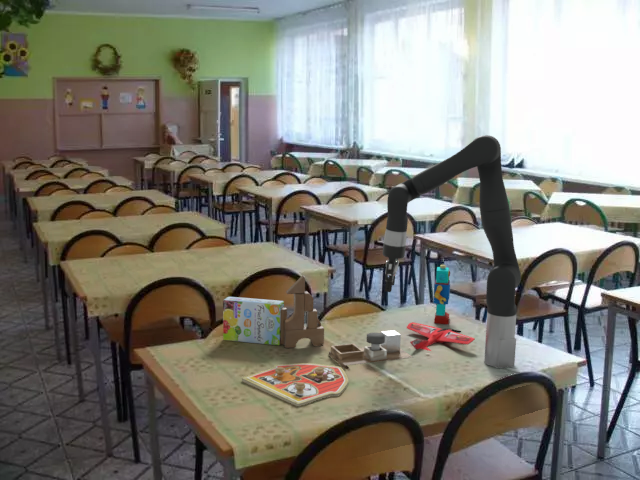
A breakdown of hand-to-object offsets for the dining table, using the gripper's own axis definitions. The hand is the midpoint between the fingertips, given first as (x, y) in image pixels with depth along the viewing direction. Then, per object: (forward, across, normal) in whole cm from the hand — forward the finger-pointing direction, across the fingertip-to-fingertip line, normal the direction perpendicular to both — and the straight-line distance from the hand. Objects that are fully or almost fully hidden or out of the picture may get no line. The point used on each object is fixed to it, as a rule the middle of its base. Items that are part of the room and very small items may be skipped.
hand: (389, 288), depth 258 cm
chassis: (+21, -14, +2) cm, 25 cm away
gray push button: (+17, -16, +1) cm, 23 cm away
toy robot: (+21, +36, -18) cm, 45 cm away
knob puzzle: (+22, -40, +18) cm, 49 cm away
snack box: (+25, -7, +45) cm, 52 cm away
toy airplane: (+20, +4, -17) cm, 27 cm away
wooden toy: (+23, -7, +28) cm, 37 cm away
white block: (+19, -8, -3) cm, 21 cm away
